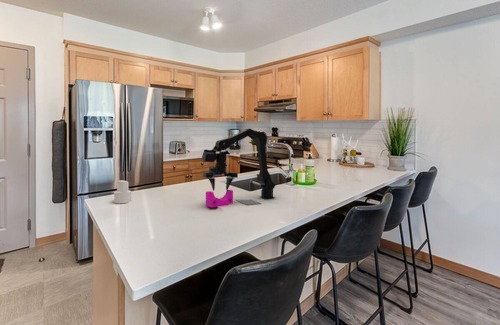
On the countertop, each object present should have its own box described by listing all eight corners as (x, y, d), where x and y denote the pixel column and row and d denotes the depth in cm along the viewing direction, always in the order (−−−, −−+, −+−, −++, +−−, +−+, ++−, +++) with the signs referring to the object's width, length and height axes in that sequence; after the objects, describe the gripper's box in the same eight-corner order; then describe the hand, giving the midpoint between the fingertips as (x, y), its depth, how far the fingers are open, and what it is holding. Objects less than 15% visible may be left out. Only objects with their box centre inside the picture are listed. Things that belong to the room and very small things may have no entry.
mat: (246, 199, 165) (246, 198, 165) (261, 204, 149) (261, 202, 149) (233, 200, 160) (233, 199, 160) (246, 205, 144) (246, 204, 144)
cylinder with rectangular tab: (134, 201, 153) (133, 181, 153) (117, 204, 146) (117, 182, 146) (127, 200, 159) (127, 179, 159) (111, 201, 153) (111, 181, 152)
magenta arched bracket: (211, 207, 139) (211, 193, 138) (205, 205, 144) (205, 191, 144) (235, 204, 147) (235, 190, 147) (229, 202, 152) (229, 189, 152)
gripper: (230, 162, 160) (229, 188, 160) (200, 161, 151) (199, 189, 151) (238, 163, 150) (237, 190, 150) (206, 162, 141) (206, 191, 141)
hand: (220, 190), depth 149 cm, fingers closed on magenta arched bracket, 7 cm apart
